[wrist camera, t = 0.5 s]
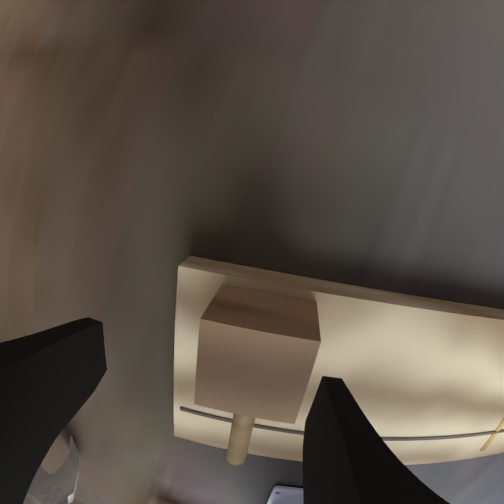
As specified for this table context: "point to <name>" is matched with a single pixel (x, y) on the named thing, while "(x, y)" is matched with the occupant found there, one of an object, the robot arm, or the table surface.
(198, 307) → the board
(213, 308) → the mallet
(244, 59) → the table surface
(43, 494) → the hammer
